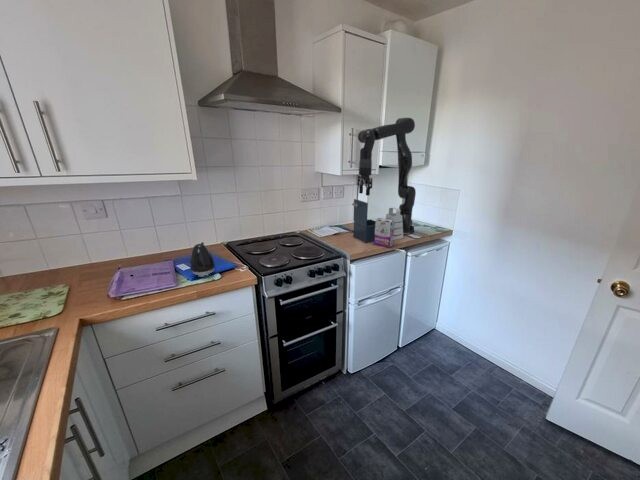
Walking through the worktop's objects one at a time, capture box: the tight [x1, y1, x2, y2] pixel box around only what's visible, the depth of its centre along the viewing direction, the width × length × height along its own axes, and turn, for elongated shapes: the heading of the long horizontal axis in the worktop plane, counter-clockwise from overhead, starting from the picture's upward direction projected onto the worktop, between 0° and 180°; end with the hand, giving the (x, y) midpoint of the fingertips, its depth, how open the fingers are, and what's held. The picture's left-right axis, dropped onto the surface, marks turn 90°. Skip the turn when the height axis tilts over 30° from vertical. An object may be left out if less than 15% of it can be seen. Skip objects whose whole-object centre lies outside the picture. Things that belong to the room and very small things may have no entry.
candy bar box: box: [373, 217, 395, 248], centre depth 185 cm, size 11×5×16 cm, turn 58°
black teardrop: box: [189, 241, 216, 278], centre depth 137 cm, size 10×10×15 cm
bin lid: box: [352, 198, 369, 226], centre depth 189 cm, size 14×15×5 cm
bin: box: [352, 218, 375, 244], centre depth 199 cm, size 14×15×11 cm
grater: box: [385, 206, 404, 241], centre depth 201 cm, size 10×10×20 cm
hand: (364, 194), depth 183 cm, fingers open, 8 cm apart
